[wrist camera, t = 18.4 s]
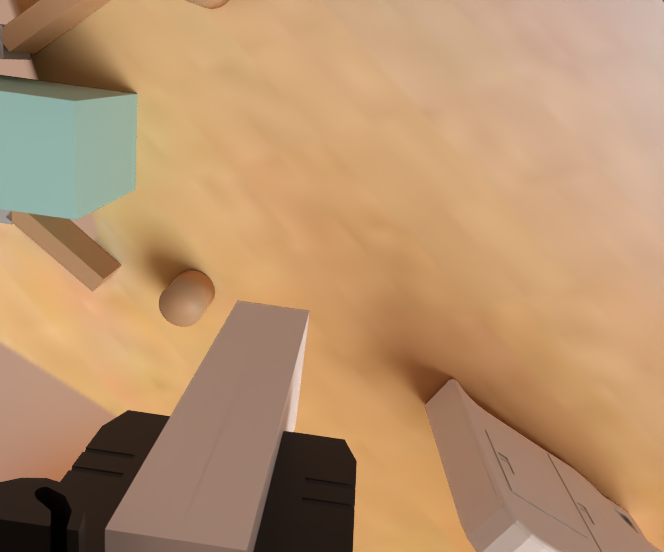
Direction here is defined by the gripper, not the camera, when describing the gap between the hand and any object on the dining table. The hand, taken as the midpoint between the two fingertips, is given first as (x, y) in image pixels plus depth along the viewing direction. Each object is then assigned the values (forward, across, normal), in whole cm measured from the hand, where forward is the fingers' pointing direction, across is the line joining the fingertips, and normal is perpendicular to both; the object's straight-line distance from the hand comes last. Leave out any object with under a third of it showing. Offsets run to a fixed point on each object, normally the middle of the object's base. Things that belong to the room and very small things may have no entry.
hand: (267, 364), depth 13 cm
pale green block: (+21, -16, +1) cm, 26 cm away
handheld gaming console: (+21, +14, -15) cm, 29 cm away
